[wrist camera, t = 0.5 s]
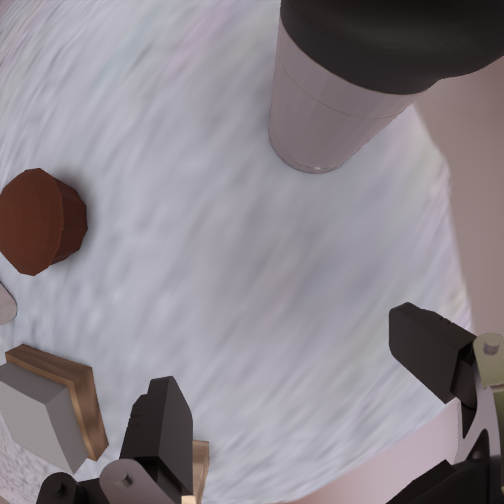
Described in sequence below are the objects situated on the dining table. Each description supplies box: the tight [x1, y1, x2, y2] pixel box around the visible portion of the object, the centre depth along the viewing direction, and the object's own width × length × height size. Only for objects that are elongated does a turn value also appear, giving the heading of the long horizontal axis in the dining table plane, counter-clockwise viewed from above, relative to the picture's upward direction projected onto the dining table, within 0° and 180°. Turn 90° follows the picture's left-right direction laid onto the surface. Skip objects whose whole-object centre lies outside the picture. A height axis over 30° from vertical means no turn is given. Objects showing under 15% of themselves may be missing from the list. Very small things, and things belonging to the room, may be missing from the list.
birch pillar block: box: [182, 440, 209, 504], centre depth 24 cm, size 5×5×10 cm
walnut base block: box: [5, 344, 109, 462], centre depth 27 cm, size 14×14×5 cm
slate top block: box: [0, 361, 89, 475], centre depth 22 cm, size 12×12×5 cm
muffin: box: [0, 168, 88, 276], centre depth 23 cm, size 12×11×10 cm
